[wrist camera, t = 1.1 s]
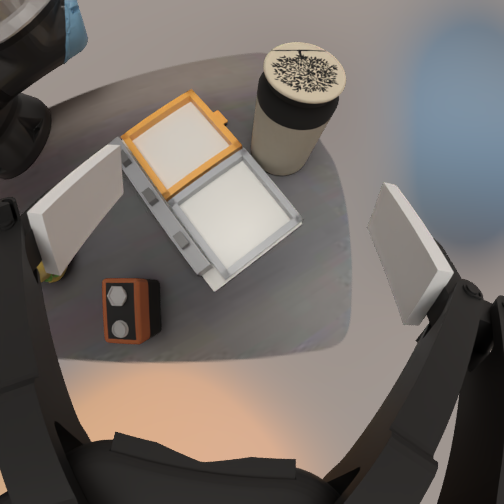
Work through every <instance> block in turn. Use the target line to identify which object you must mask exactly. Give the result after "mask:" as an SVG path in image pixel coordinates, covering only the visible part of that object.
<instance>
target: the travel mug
mask: <svg viewBox="0 0 504 504" xmlns="http://www.w3.org/2000/svg"><path fill="white" fill-rule="evenodd" d="M263 67H264V72H263V73H262V75H261V77H260V79H259V83H258V91H257V99H256V107H255V115H254V124H253V132H252V140H251V154H252V157H253V158H254V160H255V161H256V162H257V163H258V164H259V166H260V167H261V168H262V169H263V170H264V171H266V172H268V173H270V174H274V175H280V176H283V175H290V174H293V173H295V172H297V171H298V170H300V169H301V168H302V167H303V165H304V164H305V162H306V161H307V159H308V157H309V155H310V154H311V152H312V150H313V148H314V147H315V145H316V143H317V141H318V139H319V138H320V136H321V134H322V132H323V131H324V129H325V127H326V125H327V124H328V122H329V120H330V118H331V117H332V115H333V113H334V111H335V109H336V108H337V105H338V101H339V95H340V94H341V93H342V91H343V90H344V88H345V84H346V75H345V72H344V69H343V67H342V65H341V64H340V62H339V61H338V60H337V59H336V58H335V57H334V56H333V55H332V54H330V53H329V52H327V51H326V50H324V49H322V48H320V47H318V46H315V45H312V44H308V43H301V42H293V43H286V44H282V45H280V46H277V47H275V48H274V49H272V50H271V51H270V52H269V53H268V54H267V56H266V58H265V60H264V66H263Z"/></svg>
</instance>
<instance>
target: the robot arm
mask: <svg viewBox="0 0 504 504" xmlns="http://www.w3.org/2000/svg"><path fill="white" fill-rule="evenodd" d="M87 42H88V37H87V33H86V30H85V26H84V23H83V19H82V16H81V13H80V10H79V6H78V3H77V0H0V178H3V179H9V178H13V177H16V176H17V175H19V174H21V173H22V172H24V171H25V170H26V169H27V168H28V167H29V166H30V165H31V164H32V163H33V162H34V161H35V159H36V158H37V157H38V155H39V154H40V152H41V150H42V149H43V147H44V145H45V143H46V140H47V138H48V135H49V132H50V127H51V114H50V111H49V109H48V108H47V106H45V104H44V103H43V102H42V101H40V100H39V99H37V98H35V97H32V96H29V95H25V94H23V93H21V92H22V91H24V90H25V89H26V88H28V87H29V86H30V85H32V84H33V83H34V82H36V81H38V80H39V79H40V78H42V77H43V76H45V75H46V74H48V73H49V72H51V71H52V70H54V69H56V68H57V67H59V66H60V65H62V64H65V63H66V62H67V61H68V60H69V59H70V58H72V57H73V56H75V55H76V54H78V53H79V52H81V51H82V50H83V49H84V48H85V46H86V45H87ZM122 195H123V180H122V166H121V146H120V145H106V146H105V147H104V148H102V149H101V150H100V151H98V152H97V153H96V154H94V155H93V156H92V157H90V158H89V159H88V160H86V161H85V162H84V163H83V164H81V165H80V166H79V167H78V168H76V169H75V170H74V171H73V172H71V173H70V174H69V175H68V176H67V177H65V178H64V179H63V180H62V181H61V182H60V183H58V184H57V185H56V186H55V187H54V188H52V189H50V190H48V191H47V192H46V193H44V194H43V195H42V196H41V197H40V198H39V199H38V200H37V201H36V202H35V203H33V204H32V205H31V206H30V207H29V208H28V209H27V210H26V211H25V212H24V213H23V214H22V215H21V216H20V214H19V210H18V207H17V203H16V200H15V198H13V197H7V198H3V199H0V470H1V473H2V476H3V479H4V482H5V485H6V488H7V492H5V493H4V494H2V495H0V504H420V502H421V500H422V499H423V497H424V495H425V493H426V492H427V490H428V488H429V486H430V484H431V482H432V480H433V478H434V477H435V474H436V472H437V469H438V462H437V461H435V460H434V459H433V455H434V453H435V451H436V448H437V446H438V444H439V442H440V440H441V438H442V435H443V433H444V430H445V428H446V426H447V424H448V421H449V419H450V416H451V414H452V411H453V409H454V406H455V403H456V401H457V398H458V395H459V402H458V410H457V418H456V424H455V430H454V436H453V441H452V447H451V452H450V457H449V461H448V465H447V470H446V474H445V478H444V482H443V485H442V489H441V492H440V496H439V499H438V502H437V504H504V296H498V297H497V299H496V300H495V301H494V303H493V304H492V303H489V302H487V301H485V300H483V295H482V293H481V291H480V290H479V289H478V287H477V286H476V285H474V284H473V283H472V282H470V281H468V280H465V279H461V277H460V275H459V273H458V272H457V270H456V269H455V267H454V265H453V263H452V262H451V261H450V259H449V257H448V255H446V252H445V250H444V249H443V247H442V246H441V245H440V244H439V243H438V242H437V241H436V240H435V239H434V238H433V237H432V236H431V234H430V233H429V231H428V230H427V228H426V227H425V225H424V224H423V222H422V221H421V219H420V218H419V216H418V215H417V213H416V212H415V211H414V209H413V208H412V206H411V205H410V203H409V202H408V201H407V199H406V198H405V197H404V195H403V194H402V192H401V191H400V190H399V188H398V187H397V186H396V185H393V184H389V183H384V182H383V184H382V187H381V190H380V193H379V196H378V199H377V202H376V204H375V207H374V210H373V213H372V215H371V218H370V221H369V223H368V226H367V229H368V231H369V234H370V236H371V239H372V241H373V243H374V246H375V248H376V251H377V253H378V256H379V258H380V261H381V263H382V266H383V269H384V271H385V274H386V276H387V279H388V282H389V284H390V287H391V290H392V293H393V296H394V298H395V301H396V304H397V307H398V310H399V313H400V316H401V319H402V322H403V324H404V325H420V323H421V322H422V320H423V319H424V318H425V316H426V315H427V317H428V319H429V324H428V325H427V327H426V328H425V329H424V331H423V332H422V333H421V334H420V336H419V337H418V339H417V340H416V341H417V342H418V343H417V345H416V347H415V349H414V351H413V353H412V355H411V357H410V359H409V360H408V362H407V364H406V366H405V368H404V369H403V371H402V373H401V375H400V376H399V378H398V380H397V382H396V383H395V385H394V386H393V388H392V390H391V391H390V393H389V395H388V396H387V398H386V399H385V401H384V402H383V404H382V406H381V407H380V409H379V410H378V412H377V413H376V415H375V416H374V418H373V419H372V420H371V422H370V423H369V425H368V426H367V428H366V429H365V431H364V432H363V433H362V435H361V436H360V437H359V439H358V440H357V441H356V443H355V444H354V445H353V447H352V448H351V450H350V451H349V452H348V453H347V455H346V456H345V457H344V458H343V459H342V460H341V461H340V463H338V465H336V466H335V467H334V468H333V469H332V470H331V471H330V472H329V473H328V474H327V475H326V476H325V477H324V478H323V479H321V478H319V477H318V476H316V475H314V474H312V473H310V472H307V471H305V470H302V469H299V468H296V459H272V458H256V457H249V458H242V459H233V460H225V461H215V462H200V461H197V460H195V459H192V458H190V457H187V456H185V455H183V454H181V453H178V452H176V451H174V450H172V449H169V448H167V447H165V446H163V445H161V444H159V443H157V442H152V441H148V440H144V439H140V438H136V437H133V436H129V435H125V434H122V433H118V432H115V435H114V439H113V440H100V441H95V442H91V441H90V439H89V437H88V435H87V434H86V432H85V430H84V429H83V427H82V426H81V424H80V422H79V420H78V418H77V415H76V413H75V410H74V408H73V405H72V402H71V399H70V397H69V394H68V391H67V388H66V385H65V382H64V379H63V376H62V372H61V369H60V366H59V363H58V359H57V355H56V352H55V348H54V344H53V340H52V336H51V332H50V327H49V323H48V318H47V314H46V309H45V304H44V298H43V293H42V287H41V280H40V274H39V271H38V269H37V266H38V265H39V264H40V262H41V261H42V263H43V266H44V268H45V271H46V273H50V274H54V275H59V276H61V274H62V273H63V271H64V270H65V269H66V267H67V266H68V264H69V263H70V261H71V260H72V259H73V257H74V256H75V254H76V253H77V252H78V250H79V249H80V248H81V246H82V245H83V243H84V242H85V241H86V239H87V238H88V237H89V236H90V234H91V233H92V232H93V230H94V229H95V228H96V226H97V225H98V224H99V223H100V221H101V220H102V219H103V218H104V216H105V215H106V214H107V213H108V211H109V210H110V209H111V208H112V206H113V205H114V204H115V203H116V202H117V200H118V199H119V198H120V197H121V196H122ZM491 349H492V350H491ZM490 351H491V352H490Z"/></svg>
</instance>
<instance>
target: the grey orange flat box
mask: <svg viewBox="0 0 504 504" xmlns="http://www.w3.org/2000/svg"><path fill="white" fill-rule="evenodd" d="M227 122H228V121H227V120H226V118H225V117H224V116H223V115H222V114H221V113H220V112H219V111H218V110H217V111H215V112H214V113H213V112H212V111H211V110H210V109H209V108H208V106H207V105H206V104H205V103H204V102H203V101H202V100H201V99H200V98H199V97H198V96H197V95H196V93H195V92H194V91H193V90H192V89H191V90H189V91H187V92H186V93H184V94H182V95H181V96H179V97H177V98H176V99H174V100H173V101H171V102H170V103H168V104H166V105H165V106H163V107H162V108H160V109H159V110H157V111H156V112H154V113H153V114H151V115H150V116H148V117H147V118H146V119H144V120H143V121H141V122H140V123H138V124H137V125H136V126H134V127H133V128H131V129H130V130H129V131H127V132H126V133H125V134H123V135H122V136H121V137H122V139H123V140H122V141H121V139H120V138H119V137H117V138H115V139H114V140H113V141H111V142H110V143H109V144H108V145H120V146H121V166H122V169H123V170H124V172H125V173H126V175H127V176H128V178H129V179H130V181H131V182H132V184H133V185H134V187H135V188H136V190H137V191H138V193H139V194H140V196H141V197H142V199H143V200H144V202H145V203H146V204H147V206H148V207H149V209H150V210H151V212H152V213H153V214H154V216H155V217H156V219H157V220H158V222H159V223H160V224H161V226H162V227H163V229H164V230H165V231H166V233H167V234H168V236H169V237H170V238H171V240H172V241H173V243H174V244H175V245H176V247H177V248H178V249H179V251H180V252H181V254H182V255H183V256H184V258H185V259H186V260H187V262H188V263H189V264H190V266H191V267H192V268H193V270H194V271H195V272H196V274H197V275H201V276H203V278H204V279H205V280H206V282H207V283H208V284H209V286H210V287H211V288H212V290H213V291H214V292H215V291H217V290H218V289H219V288H221V287H222V286H223V285H224V284H226V283H227V282H228V281H230V280H231V279H232V278H234V277H235V276H236V275H237V274H239V273H240V272H241V271H243V270H244V269H245V268H246V267H248V266H249V265H250V264H252V263H253V262H254V261H256V260H257V259H258V258H259V257H261V256H262V255H263V254H265V253H266V252H267V251H268V250H270V249H271V248H272V247H274V246H275V245H276V244H277V243H279V242H280V241H281V240H283V239H284V238H285V237H286V236H288V235H289V234H290V233H292V232H293V231H294V230H295V229H297V228H298V227H299V226H301V225H302V222H301V221H302V220H304V219H303V218H302V217H301V216H300V214H299V213H298V212H297V211H296V209H295V208H294V207H293V206H292V204H291V203H290V202H289V201H288V199H287V198H286V197H285V196H284V194H283V193H282V192H281V191H280V190H279V188H278V187H277V186H276V185H275V183H274V182H273V181H272V180H271V179H270V177H269V176H268V175H267V174H266V173H265V171H264V170H263V169H262V168H261V167H260V166H259V164H258V163H257V162H256V161H255V160H254V158H253V157H252V156H251V155H250V154H249V153H248V151H247V150H246V149H245V148H242V145H241V143H240V142H239V141H238V140H237V139H236V138H235V137H234V135H233V134H232V133H231V132H230V131H229V130H228V129H227V127H226V126H225V125H224V124H225V123H227Z"/></svg>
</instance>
